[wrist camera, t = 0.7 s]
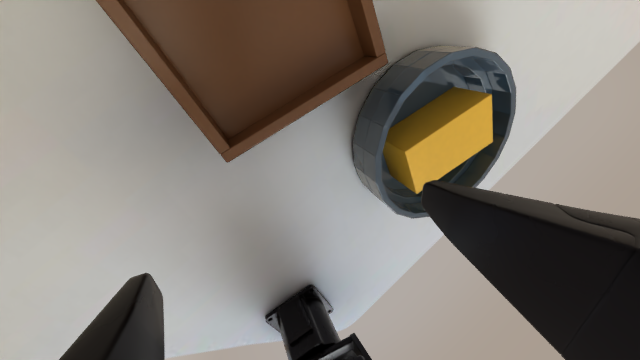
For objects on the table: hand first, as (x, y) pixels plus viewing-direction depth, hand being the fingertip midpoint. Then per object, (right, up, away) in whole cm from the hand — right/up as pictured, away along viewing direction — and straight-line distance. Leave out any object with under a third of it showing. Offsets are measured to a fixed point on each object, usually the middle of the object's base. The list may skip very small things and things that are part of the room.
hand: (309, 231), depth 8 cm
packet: (+10, +6, +18) cm, 21 cm away
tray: (-4, +12, +8) cm, 15 cm away
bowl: (+10, +6, +18) cm, 22 cm away
